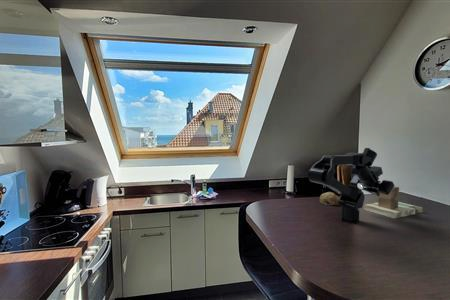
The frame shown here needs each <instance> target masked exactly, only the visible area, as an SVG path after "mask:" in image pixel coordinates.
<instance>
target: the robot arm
mask: <svg viewBox="0 0 450 300" xmlns="http://www.w3.org/2000/svg"><path fill="white" fill-rule="evenodd" d="M377 157H378V154H377V152H376V151H375V150H373V149H371V148H370V147H365V148H364V150H363V152H353V151H351V152H345V154H342V155H341V154H340V155H339V154H337V155H336V154H332V155H331V154H324V155H323V156H322V157H321V159H320V160H318V161H316V162H315V163H314V164H313V165H312V166H311V168H310V169H309V170H308V173H307V177H308V181H310V183H314V184H319V185H324V186H326V187H327V188H329V189H331V190H332V191H334V192H335V193H338V194H339V195H340V196H339V197H338V198H339V200H338V205H337V206H341V218H340V221H342V222H347V223H354V224H358V222H360V209H362V208H364V201H365V194H364V192H363V191H365V192H367V193H370V195H373V196H376V197H378V198H379V195H380V193H381V194H386V195H388V194H389V193H390V192H391V190H392V189H393V187H395V183H394V182H393V180H387V179H384V180H382V181H381V180H380V178H379V177H380V176H381V175H384V171H383V168H382V166H376V165H373V163H374V162H375V160H376V158H377ZM337 165H338V166H339V165H341V166H342V165H347V166H353V167H352V168H351V171H350V174H351V175H354V176H353V178H352V179H351V180H350V182H349V183H350V184H344V183H343V182H341V181H340V180H338V179H336V178H335V175H336V166H337ZM372 165H373V166H372ZM326 166H330V167H329V169H327V168H326V169H325V168H324V167H326ZM359 184H361V185H360V186H361V188H362V189H361V188H360V187H359V186H358V185H359Z"/></svg>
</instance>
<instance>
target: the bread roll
mask: <svg viewBox="0 0 450 300" xmlns="http://www.w3.org/2000/svg"><path fill="white" fill-rule="evenodd" d="M339 198H340V197H339V196H338V195H337V194H336V193H334V192H331V191H328V192H324V193H322V194H320V196H319V202H320V203H321V204H322V205H324V204H325V206H326V205H327V206H333V205H335V206H339V205H338V200H339Z"/></svg>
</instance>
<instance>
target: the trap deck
mask: <svg viewBox="0 0 450 300" xmlns="http://www.w3.org/2000/svg"><path fill="white" fill-rule="evenodd" d="M423 208H424V207H421V206H417V205H414V204H413V205H412V204H409V203H405V202H401V201H398V208H395V209H387V208H383V207H380V206H378V202H373V203H366V204H363V209H364V211H367V212H371V213H375V214H377V215H382V216H385V217H388V218H391V219H397V218H398V219H399V218H403V217H408V216H412V215H418V214H421V213H423Z"/></svg>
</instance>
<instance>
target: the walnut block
mask: <svg viewBox="0 0 450 300" xmlns="http://www.w3.org/2000/svg"><path fill="white" fill-rule="evenodd" d="M399 197H400V187H398V186H394V187H393V189H392V190H391V192H390V193H389V194H388V195H386V194H381V193H380V195H379V197H378V200H377V201H378V202H377V203H378V206H380V207H383V208H387V209H395V208H398V202H399V199H400V198H399Z"/></svg>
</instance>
